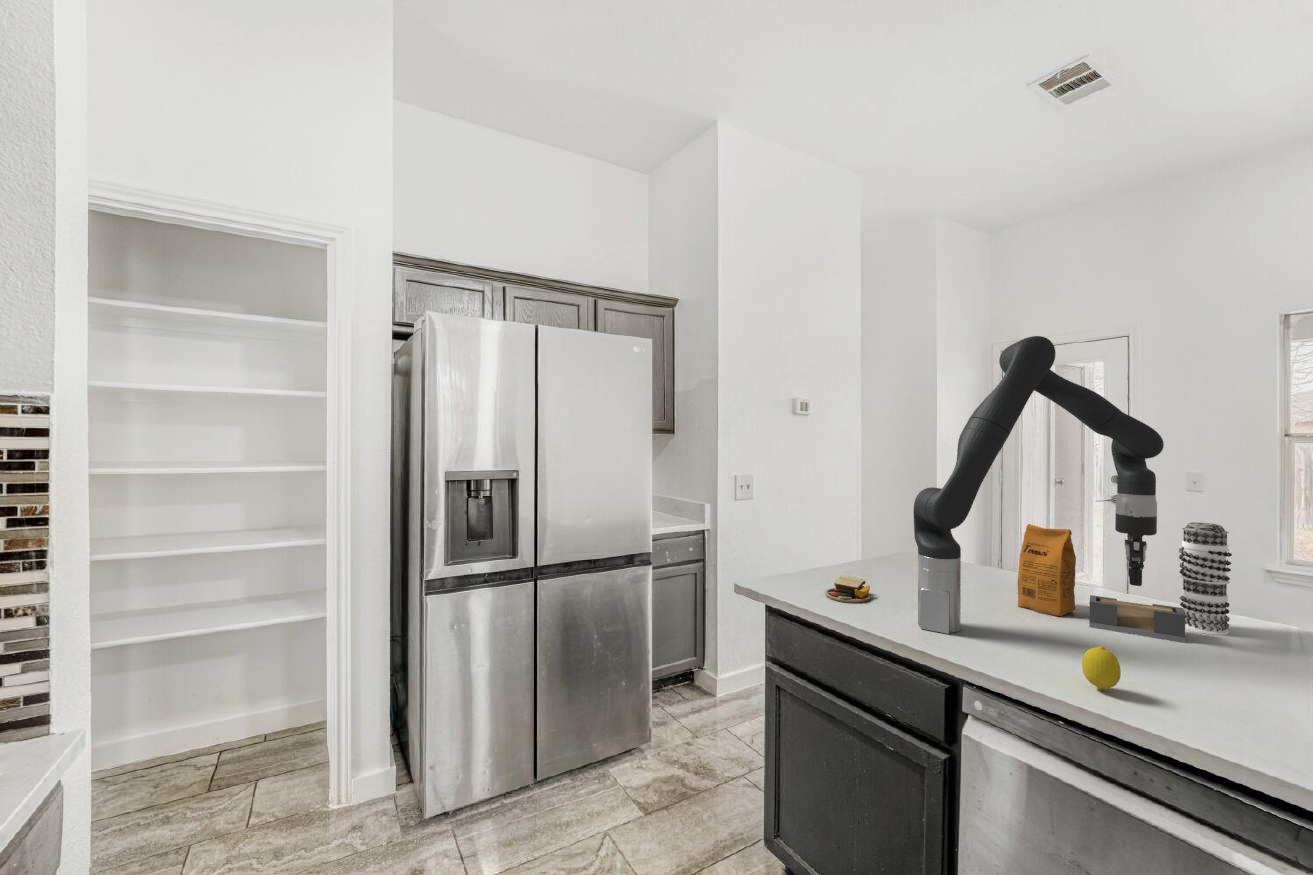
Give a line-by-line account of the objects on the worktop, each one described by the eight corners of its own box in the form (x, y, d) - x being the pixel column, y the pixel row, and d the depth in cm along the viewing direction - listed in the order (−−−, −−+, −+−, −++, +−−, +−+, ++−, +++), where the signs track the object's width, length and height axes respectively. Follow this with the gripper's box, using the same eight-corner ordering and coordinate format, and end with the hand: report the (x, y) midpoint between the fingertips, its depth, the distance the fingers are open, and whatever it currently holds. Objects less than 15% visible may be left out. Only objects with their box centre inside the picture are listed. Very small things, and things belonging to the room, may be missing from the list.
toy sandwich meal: (816, 597, 163) (816, 581, 163) (839, 588, 173) (839, 573, 173) (858, 607, 155) (858, 589, 154) (880, 597, 164) (880, 580, 164)
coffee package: (1032, 600, 159) (1033, 521, 159) (1082, 613, 148) (1082, 528, 148) (1010, 605, 155) (1010, 524, 155) (1059, 618, 144) (1059, 531, 144)
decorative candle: (1230, 628, 137) (1231, 523, 136) (1232, 638, 130) (1233, 528, 130) (1178, 619, 143) (1179, 519, 143) (1177, 629, 136) (1178, 524, 136)
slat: (1172, 633, 131) (1172, 611, 131) (1100, 621, 139) (1100, 600, 139) (1171, 629, 133) (1171, 608, 133) (1100, 618, 141) (1100, 598, 141)
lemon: (1074, 684, 107) (1074, 641, 107) (1102, 683, 107) (1102, 640, 107) (1099, 697, 101) (1100, 652, 101) (1128, 696, 102) (1129, 651, 102)
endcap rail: (1185, 642, 127) (1185, 615, 127) (1089, 626, 138) (1089, 601, 138) (1181, 632, 134) (1181, 607, 134) (1090, 618, 144) (1090, 594, 144)
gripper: (1115, 508, 143) (1114, 573, 144) (1115, 514, 132) (1114, 585, 132) (1155, 511, 139) (1154, 578, 139) (1159, 518, 128) (1158, 590, 128)
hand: (1134, 581), depth 136 cm, fingers open, 8 cm apart
